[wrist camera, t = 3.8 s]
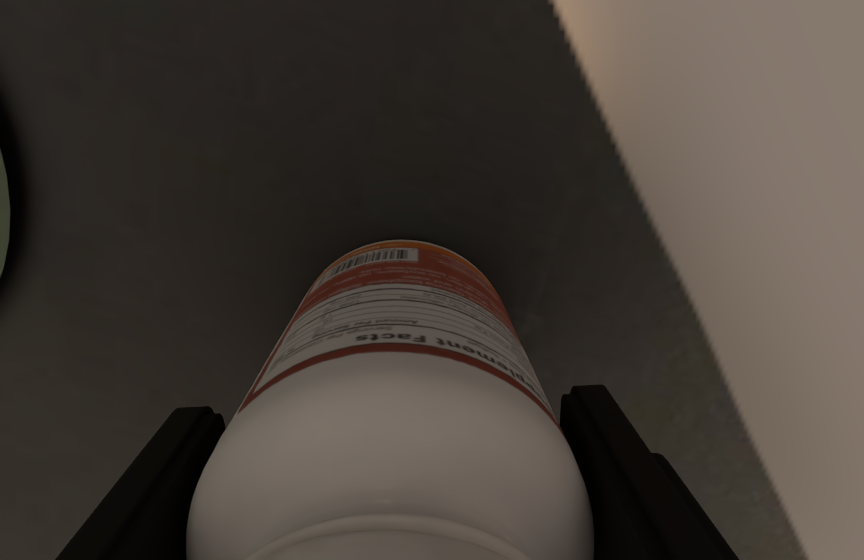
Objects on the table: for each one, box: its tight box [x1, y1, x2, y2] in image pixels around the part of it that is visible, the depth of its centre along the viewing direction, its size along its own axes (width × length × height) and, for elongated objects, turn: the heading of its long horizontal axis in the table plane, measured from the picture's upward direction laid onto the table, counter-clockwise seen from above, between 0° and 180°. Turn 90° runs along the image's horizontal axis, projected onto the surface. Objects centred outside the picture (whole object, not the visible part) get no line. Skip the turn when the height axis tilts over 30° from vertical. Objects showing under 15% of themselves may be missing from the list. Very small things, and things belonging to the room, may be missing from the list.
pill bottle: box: [186, 240, 594, 560], centre depth 10 cm, size 6×6×11 cm
